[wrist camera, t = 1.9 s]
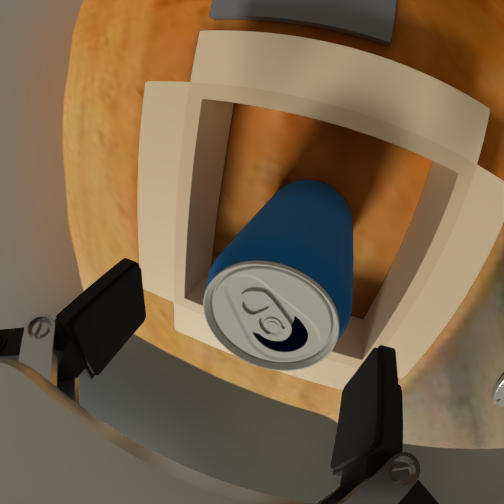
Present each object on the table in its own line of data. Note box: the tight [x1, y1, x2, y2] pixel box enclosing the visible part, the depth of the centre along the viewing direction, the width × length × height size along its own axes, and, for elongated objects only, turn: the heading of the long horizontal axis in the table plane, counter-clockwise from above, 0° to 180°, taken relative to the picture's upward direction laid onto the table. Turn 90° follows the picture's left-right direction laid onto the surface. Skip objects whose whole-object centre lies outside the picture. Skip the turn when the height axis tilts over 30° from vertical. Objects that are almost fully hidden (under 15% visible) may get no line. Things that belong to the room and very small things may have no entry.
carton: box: [138, 30, 504, 390], centre depth 18 cm, size 24×24×5 cm
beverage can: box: [203, 180, 353, 371], centre depth 15 cm, size 6×6×12 cm
